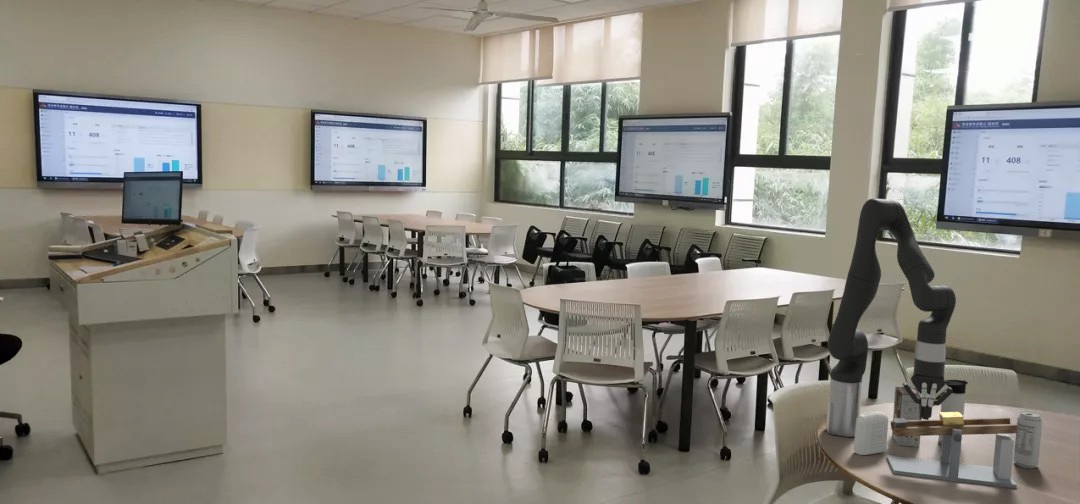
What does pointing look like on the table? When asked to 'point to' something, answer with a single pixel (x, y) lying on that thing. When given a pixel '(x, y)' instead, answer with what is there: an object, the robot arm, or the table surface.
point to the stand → (961, 472)
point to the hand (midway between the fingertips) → (925, 418)
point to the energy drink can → (1028, 439)
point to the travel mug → (954, 399)
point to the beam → (969, 428)
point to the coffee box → (906, 414)
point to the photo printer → (871, 433)
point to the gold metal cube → (951, 419)
